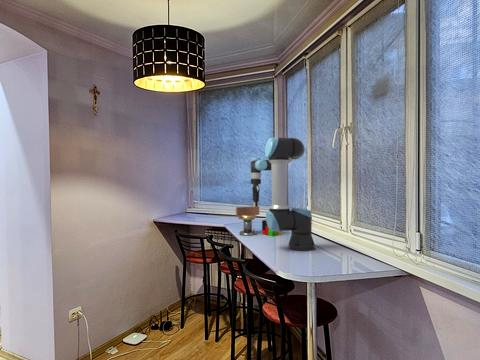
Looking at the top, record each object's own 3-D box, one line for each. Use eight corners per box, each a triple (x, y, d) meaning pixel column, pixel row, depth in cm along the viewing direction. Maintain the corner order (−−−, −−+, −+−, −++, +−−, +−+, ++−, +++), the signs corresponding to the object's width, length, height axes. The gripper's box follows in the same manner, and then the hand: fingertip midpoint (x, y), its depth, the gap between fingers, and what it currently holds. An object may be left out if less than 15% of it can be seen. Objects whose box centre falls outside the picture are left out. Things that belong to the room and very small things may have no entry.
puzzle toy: (271, 232, 231) (271, 219, 231) (281, 234, 224) (281, 220, 224) (262, 234, 225) (262, 220, 225) (272, 236, 217) (272, 222, 217)
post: (257, 235, 220) (257, 220, 220) (241, 236, 218) (241, 221, 218) (253, 232, 232) (253, 218, 232) (237, 233, 230) (237, 218, 229)
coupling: (238, 220, 217) (238, 208, 217) (234, 218, 226) (234, 206, 226) (261, 219, 223) (261, 207, 223) (255, 217, 232) (255, 205, 232)
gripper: (263, 178, 223) (263, 211, 223) (258, 178, 235) (258, 209, 236) (253, 178, 221) (253, 212, 222) (248, 178, 234) (248, 209, 234)
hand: (255, 210), depth 229 cm, fingers closed
